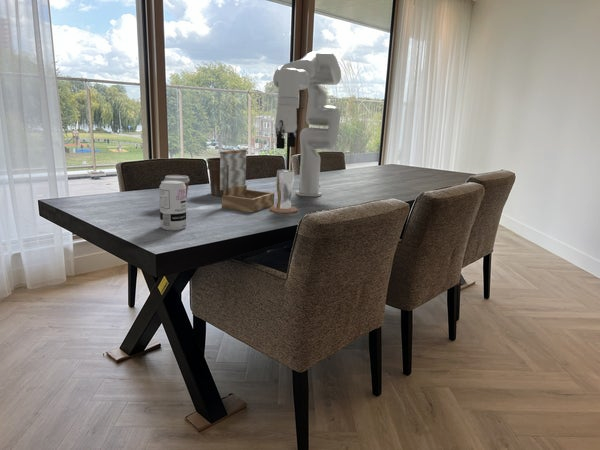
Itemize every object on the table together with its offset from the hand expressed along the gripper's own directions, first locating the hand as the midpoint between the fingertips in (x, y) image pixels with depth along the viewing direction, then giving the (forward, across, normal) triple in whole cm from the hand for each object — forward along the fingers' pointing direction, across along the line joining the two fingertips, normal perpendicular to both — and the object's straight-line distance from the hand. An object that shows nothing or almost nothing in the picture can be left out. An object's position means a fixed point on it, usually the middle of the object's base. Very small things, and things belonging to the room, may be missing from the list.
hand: (285, 147), depth 176 cm
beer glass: (+24, +2, +1) cm, 24 cm away
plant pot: (+25, -11, -36) cm, 45 cm away
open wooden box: (+25, +4, -14) cm, 29 cm away
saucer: (+25, +2, +1) cm, 25 cm away
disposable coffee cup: (+25, +23, -35) cm, 49 cm away
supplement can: (+24, +48, -16) cm, 56 cm away
